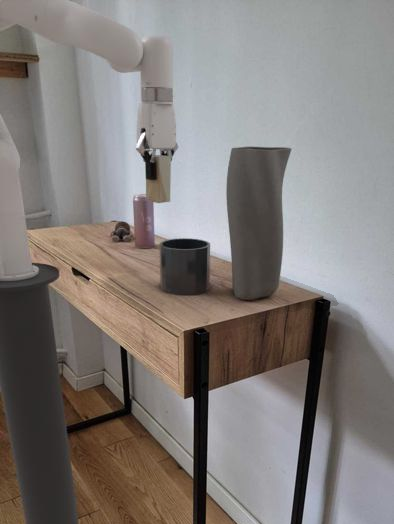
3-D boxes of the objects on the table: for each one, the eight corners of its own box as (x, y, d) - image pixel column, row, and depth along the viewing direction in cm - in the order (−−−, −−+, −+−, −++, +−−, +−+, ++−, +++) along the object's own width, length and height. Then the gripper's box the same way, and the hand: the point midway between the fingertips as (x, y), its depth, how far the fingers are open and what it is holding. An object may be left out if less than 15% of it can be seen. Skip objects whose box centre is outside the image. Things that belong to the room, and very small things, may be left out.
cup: (188, 298, 104) (188, 252, 100) (150, 288, 110) (149, 244, 106) (219, 286, 112) (220, 243, 108) (182, 277, 118) (181, 236, 114)
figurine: (134, 246, 153) (136, 233, 161) (134, 231, 150) (135, 219, 158) (108, 246, 153) (110, 233, 161) (106, 231, 150) (109, 219, 158)
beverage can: (151, 243, 151) (149, 193, 144) (157, 247, 146) (155, 196, 139) (132, 245, 149) (130, 194, 142) (138, 249, 144) (135, 197, 137)
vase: (249, 308, 99) (258, 149, 86) (212, 293, 108) (216, 147, 95) (291, 297, 105) (306, 148, 92) (253, 283, 114) (262, 145, 101)
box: (145, 201, 125) (144, 155, 120) (157, 199, 128) (156, 154, 123) (159, 203, 122) (159, 156, 117) (171, 201, 125) (171, 155, 120)
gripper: (168, 99, 123) (168, 175, 131) (120, 96, 111) (123, 179, 118) (191, 99, 119) (190, 177, 127) (144, 95, 107) (146, 182, 114)
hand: (158, 177), depth 122 cm, fingers closed on box, 4 cm apart
